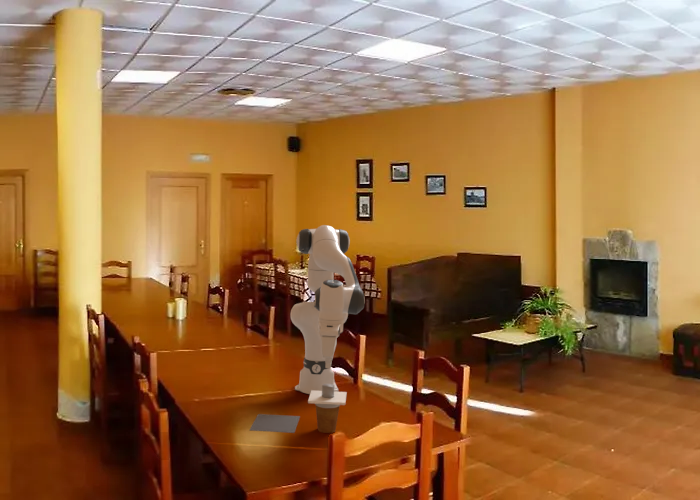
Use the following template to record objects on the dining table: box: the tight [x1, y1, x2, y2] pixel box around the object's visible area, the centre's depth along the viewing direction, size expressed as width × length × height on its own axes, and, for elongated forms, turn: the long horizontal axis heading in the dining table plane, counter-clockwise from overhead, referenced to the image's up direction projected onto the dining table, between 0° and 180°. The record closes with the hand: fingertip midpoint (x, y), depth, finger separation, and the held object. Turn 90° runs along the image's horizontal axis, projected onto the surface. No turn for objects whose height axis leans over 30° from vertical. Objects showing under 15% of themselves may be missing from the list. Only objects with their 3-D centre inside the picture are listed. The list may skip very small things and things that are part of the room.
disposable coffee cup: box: [314, 404, 341, 434], centre depth 239 cm, size 10×10×12 cm
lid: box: [307, 384, 348, 406], centre depth 239 cm, size 13×13×5 cm
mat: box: [249, 413, 301, 434], centre depth 244 cm, size 18×16×1 cm
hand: (329, 364), depth 238 cm, fingers open, 8 cm apart
